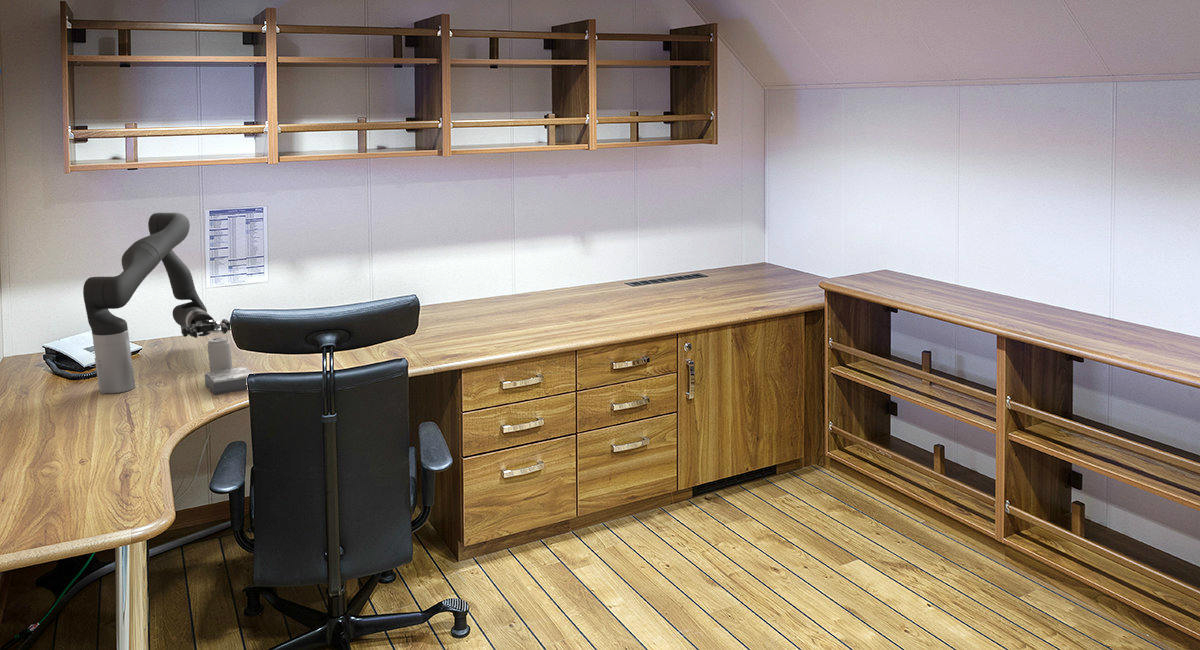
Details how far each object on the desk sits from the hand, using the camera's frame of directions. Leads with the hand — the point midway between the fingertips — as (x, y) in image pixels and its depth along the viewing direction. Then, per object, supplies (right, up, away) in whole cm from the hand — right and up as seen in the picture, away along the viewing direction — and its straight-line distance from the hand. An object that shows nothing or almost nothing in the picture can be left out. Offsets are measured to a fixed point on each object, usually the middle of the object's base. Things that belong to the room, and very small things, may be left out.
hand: (210, 332), depth 294 cm
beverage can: (+6, -14, -7) cm, 17 cm away
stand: (+13, -16, -17) cm, 27 cm away
